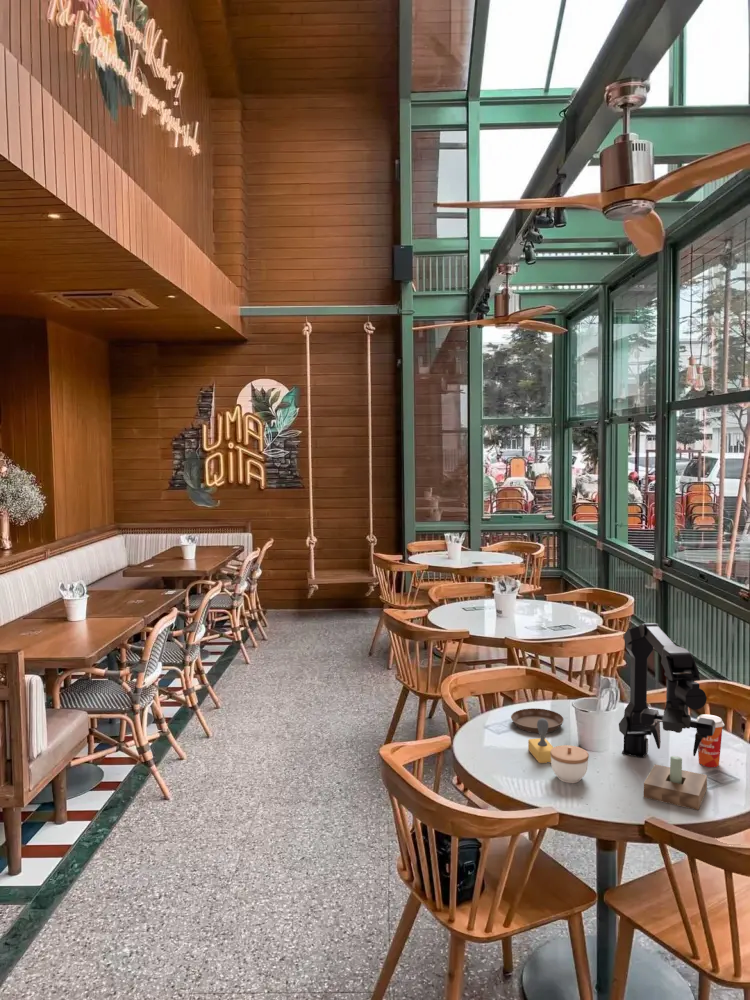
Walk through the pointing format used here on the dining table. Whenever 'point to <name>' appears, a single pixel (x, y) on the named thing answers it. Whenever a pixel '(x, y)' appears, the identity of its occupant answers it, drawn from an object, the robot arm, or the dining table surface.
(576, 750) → the lidded jar
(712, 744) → the paper cup
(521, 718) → the plant saucer
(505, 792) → the dining table surface
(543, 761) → the rubber stamp
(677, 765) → the peg
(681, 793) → the hole block
